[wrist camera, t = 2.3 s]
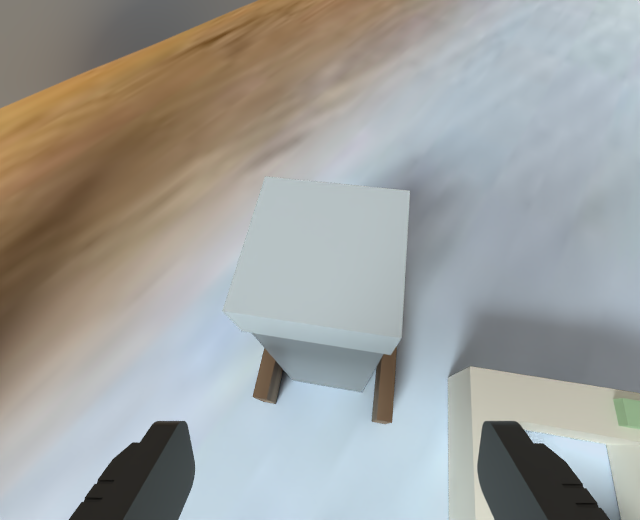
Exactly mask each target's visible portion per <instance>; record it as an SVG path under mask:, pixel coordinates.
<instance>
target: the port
mask: <svg viewBox="0 0 640 520" xmlns="http://www.w3.org/2000/svg"><path fill="white" fill-rule="evenodd" d="M485 421H516V422H518V423H519V424H520V425H521V427H522V428H523V429H524V430H528V431H534V432H539V433H545V434H550V435H556V436H562V437H567V438H573V439H579V440H584V441H590V442H595V443H601V444H606V446H607V451H608V456H609V461H610V466H611V471H612V476H613V482H614V487H615V492H616V497H617V502H618V507H619V512H620V517H621V520H640V393H636V392H629V391H623V390H617V389H610V388H604V387H598V386H591V385H585V384H579V383H573V382H566V381H560V380H554V379H547V378H541V377H535V376H528V375H522V374H516V373H509V372H503V371H497V370H491V369H484V368H478V367H472V366H470V367H468V368H466V369H464V370H462V371H460V372H458V373H456V374H454V375H452V376H450V377H448V467H449V520H494V517H493V515H492V513H491V511H490V508H489V506H488V504H487V502H486V500H485V497H484V495H483V493H482V490H481V487H480V483H479V479H478V472H477V463H478V455H479V447H480V440H481V432H482V425H483V423H484V422H485Z"/></svg>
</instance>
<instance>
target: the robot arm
mask: <svg viewBox="0 0 640 520" xmlns="http://www.w3.org/2000/svg"><path fill="white" fill-rule="evenodd" d="M477 472H478V479H479V483H480V487H481V490H482V493H483V495H484V497H485V500H486V502H487V504H488V506H489V508H490V511H491V513H492V515H493V517H494V520H610V519H609V518H608V517H607V515H606V514H605V513H604V511H603V510H602V509H601V508H599V507H598V505H597V502H596V501H595V500H594V498H593V497H592V496H591V494H590V493H589V492H588V490H587V489H586V488H583V484H582V483H581V481H580V480H579V479H578V477H577V476H576V475H575V473H574V472H573V471H572V469H571V468H570V467H569V466H568V464H567V463H566V462H565V461H564V460H563V459H562V458H560V457H559V456H558V455H557V454H555V453H554V452H553V451H552V450H550V449H549V448H548V447H547V446H546V445H544V444H533V442H532V441H531V439H530V438H529V436H528V435H527V434H526V432H525V431H524V429H523V428H522V427H521V425H520V424H519V423H518V422H516V421H485V422H484V423H483V425H482V432H481V440H480V447H479V455H478V463H477ZM194 475H195V461H194V456H193V451H192V446H191V440H190V435H189V430H188V426H187V423H186V422H185V421H157V422H155V423H154V424H153V425H152V426H151V427H150V429H149V430H148V432H147V433H146V435H145V436H144V437H143V439H142V440H141V442H140V443H131V444H130V445H129V446H128V447H127V448H126V449H124V450H123V451H122V452H121V453H120V454H119V455H117V456H116V457H115V458H114V459H113V460H112V461H111V462H110V464H109V465H108V467H107V468H106V469H105V471H104V472H103V473H102V475H101V476H100V478H99V479H98V482H97V484H94V486H93V487H92V489H91V490H90V491H89V493H88V494H87V495H86V497H85V500H84V502H81V504H80V505H79V506H78V508H77V509H76V511H75V512H74V513H73V515H72V516H71V517H70V519H69V520H178V519H179V516H180V514H181V512H182V509H183V507H184V505H185V502H186V500H187V498H188V495H189V493H190V491H191V488H192V485H193V481H194Z"/></svg>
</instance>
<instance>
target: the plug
mask: <svg viewBox="0 0 640 520" xmlns="http://www.w3.org/2000/svg"><path fill="white" fill-rule="evenodd" d="M409 202H410V191H408V190H398V189H388V188H378V187H368V186H358V185H347V184H337V183H327V182H317V181H307V180H297V179H287V178H276V177H266V176H265V179H264V182H263V185H262V188H261V191H260V194H259V198H258V201H257V204H256V207H255V210H254V213H253V216H252V220H251V223H250V226H249V229H248V232H247V235H246V238H245V242H244V245H243V248H242V251H241V254H240V257H239V260H238V264H237V267H236V270H235V273H234V276H233V279H232V282H231V286H230V289H229V292H228V295H227V298H226V301H225V304H224V308H223V312H224V313H225V314H226V315H227V317H228V318H229V319H230V320H231V321H232V322H233V323H234V324H235V325H236V326H237V327H238V328H239V329H240V330H241V331H243V332H249V333H252V334H253V335H254V336H255V337H256V338H257V340H258V341H259V342H260V343H261V344H262V345H263V347H264V348H265V349H266V350H267V351H268V352H269V354H270V355H271V356H272V357H273V358H274V359H275V361H276V362H277V363H278V364H279V365H280V366H281V367H282V369H283V370H284V371H285V372H286V373H287V374H288V376H289V377H290V378H291V379H292V380H294V381H299V382H305V383H311V384H317V385H322V386H328V387H334V388H340V389H345V390H351V391H357V392H363V390H364V388H365V386H366V385H367V383H368V381H369V379H370V377H371V376H372V374H373V372H374V370H375V368H376V367H377V365H378V363H379V361H380V360H381V358H382V356H383V354H387V355H391V354H392V352H393V351H394V349H395V348H396V346H397V345H398V343H399V342H400V340H401V339H402V323H403V306H404V288H405V271H406V254H407V236H408V219H409Z"/></svg>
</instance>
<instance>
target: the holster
mask: <svg viewBox="0 0 640 520" xmlns="http://www.w3.org/2000/svg"><path fill="white" fill-rule="evenodd" d="M396 353H397V346H396V348H395V349H394V351H393V352H392V354H391V355H387V354H383V356H382V358H381V360H380V361H379V363H378V365H377V367H376V378H375V390H374V401H373V412H372V422H377V423H382V424H387V423H392V416H393V400H394V384H395V368H396ZM282 372H283V369H282V367H281V366H280V365H279V364H278V363H277V362H276V361H275V359H274V358H273V357H272V356H271V355H270V354H269V352H268V351H267V350H266V349H265V348H264V352H263V356H262V360H261V364H260V368H259V373H258V377H257V381H256V385H255V389H254V393H253V397H254V398H256V399H259V400H261V401H263V402H268V403H274V404H276V400H277V396H278V391H279V386H280V382H281V377H282Z"/></svg>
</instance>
